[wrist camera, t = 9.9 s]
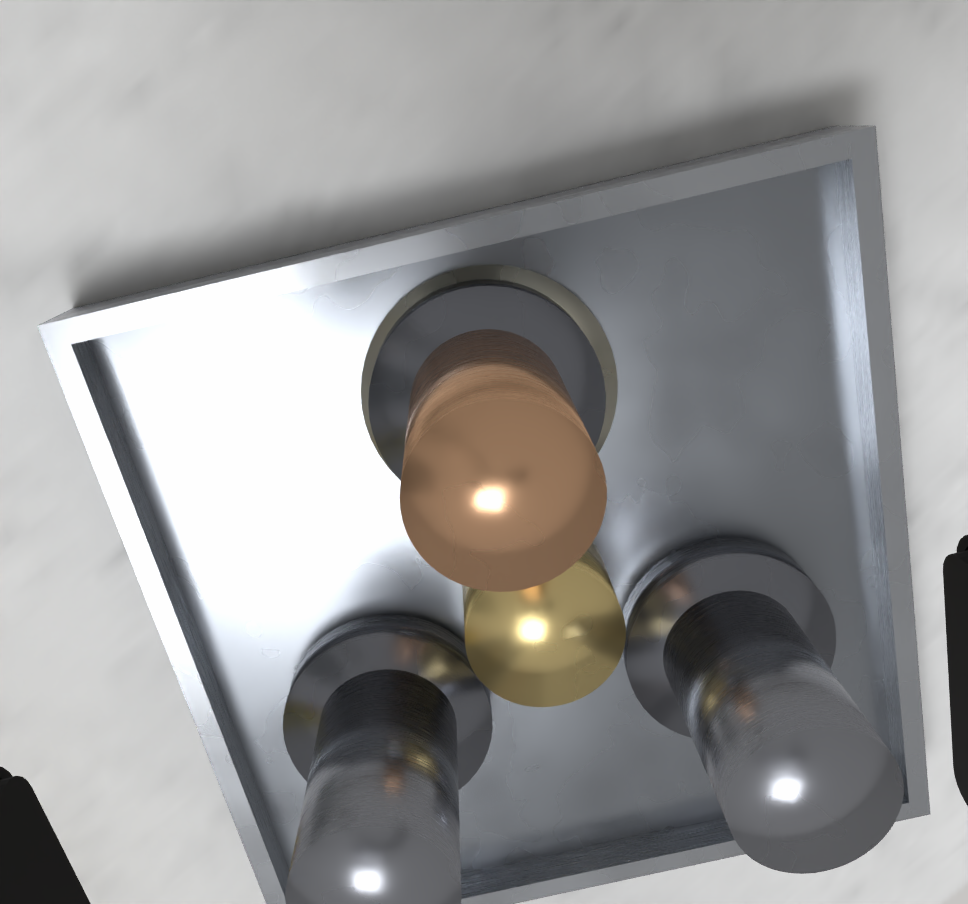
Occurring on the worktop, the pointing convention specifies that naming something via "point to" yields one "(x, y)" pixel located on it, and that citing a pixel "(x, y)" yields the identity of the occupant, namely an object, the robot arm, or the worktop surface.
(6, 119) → the worktop surface
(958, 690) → the robot arm
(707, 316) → the carrier
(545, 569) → the copper post on disc
